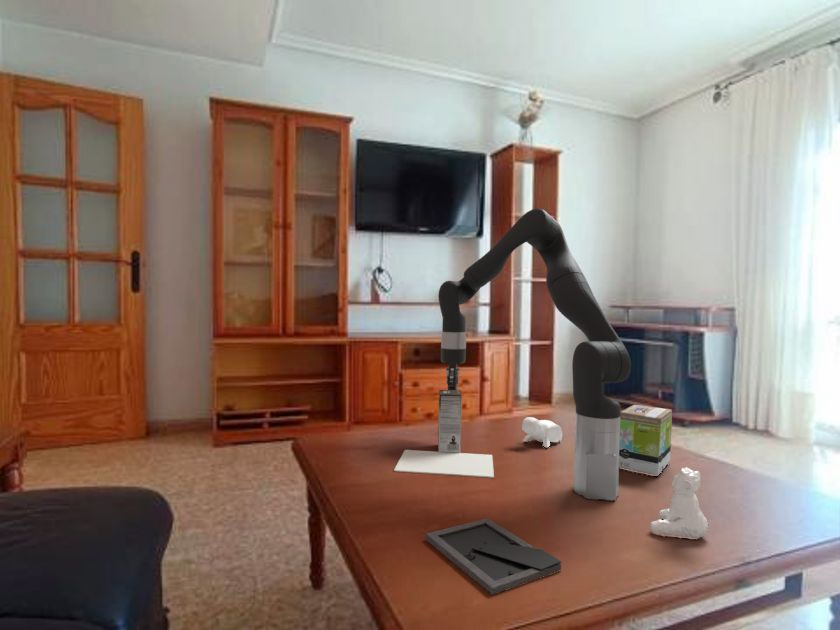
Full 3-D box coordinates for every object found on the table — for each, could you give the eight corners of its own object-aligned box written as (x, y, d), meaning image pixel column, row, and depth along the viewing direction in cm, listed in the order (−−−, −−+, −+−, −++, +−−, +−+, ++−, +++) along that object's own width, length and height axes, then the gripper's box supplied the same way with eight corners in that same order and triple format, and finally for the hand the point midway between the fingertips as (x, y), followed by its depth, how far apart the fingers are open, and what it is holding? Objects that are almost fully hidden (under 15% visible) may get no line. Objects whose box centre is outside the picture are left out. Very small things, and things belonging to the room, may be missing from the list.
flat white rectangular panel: (493, 477, 113) (493, 476, 113) (393, 471, 116) (393, 470, 116) (492, 456, 129) (492, 454, 129) (404, 450, 132) (404, 449, 132)
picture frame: (560, 574, 73) (487, 526, 88) (561, 561, 73) (487, 515, 88) (492, 599, 66) (425, 542, 82) (492, 584, 66) (426, 531, 82)
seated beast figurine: (661, 516, 93) (662, 455, 93) (712, 530, 87) (714, 465, 87) (648, 533, 86) (650, 467, 85) (703, 550, 80) (705, 479, 80)
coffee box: (437, 444, 140) (438, 389, 140) (459, 444, 139) (460, 389, 140) (438, 452, 130) (439, 393, 131) (461, 453, 130) (462, 394, 131)
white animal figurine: (538, 448, 149) (510, 437, 139) (544, 421, 151) (517, 409, 141) (562, 454, 142) (534, 444, 133) (568, 427, 144) (542, 414, 135)
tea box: (659, 478, 114) (661, 417, 114) (616, 469, 121) (617, 411, 120) (671, 463, 126) (672, 408, 126) (630, 455, 133) (632, 402, 132)
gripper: (465, 349, 138) (463, 408, 138) (466, 345, 151) (465, 400, 151) (439, 348, 139) (438, 407, 139) (442, 345, 152) (441, 399, 152)
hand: (452, 403), depth 145 cm, fingers closed
